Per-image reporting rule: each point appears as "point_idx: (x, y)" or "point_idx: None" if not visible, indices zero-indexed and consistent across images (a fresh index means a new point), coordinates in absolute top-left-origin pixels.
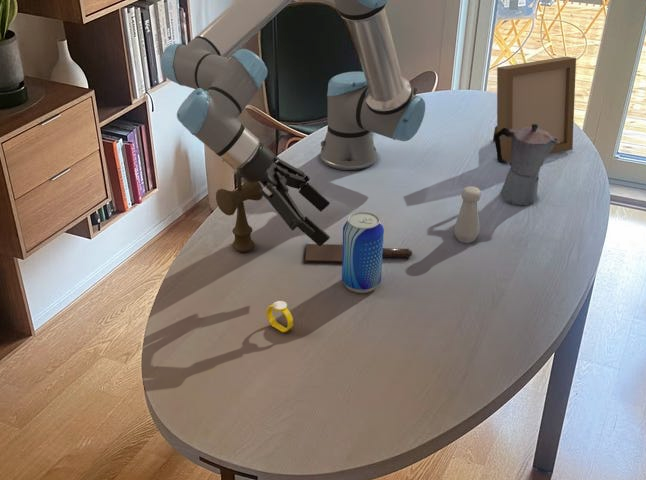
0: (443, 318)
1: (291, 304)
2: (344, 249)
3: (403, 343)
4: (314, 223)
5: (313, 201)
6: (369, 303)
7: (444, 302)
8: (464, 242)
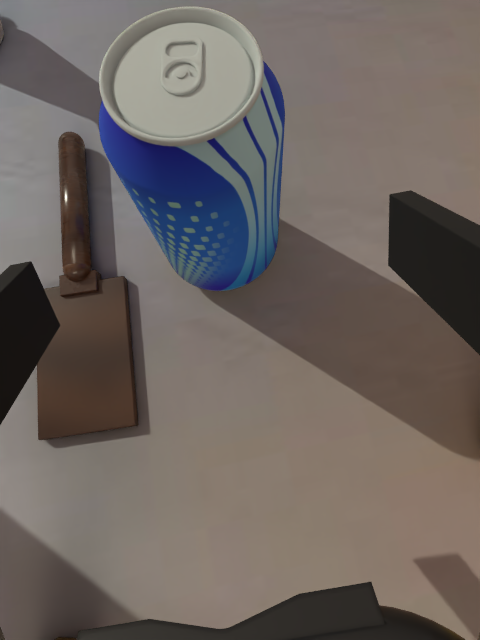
0: (328, 48)
1: (368, 421)
2: (248, 223)
3: (451, 112)
4: (454, 231)
5: (25, 353)
6: (308, 210)
7: (264, 53)
8: (1, 40)
